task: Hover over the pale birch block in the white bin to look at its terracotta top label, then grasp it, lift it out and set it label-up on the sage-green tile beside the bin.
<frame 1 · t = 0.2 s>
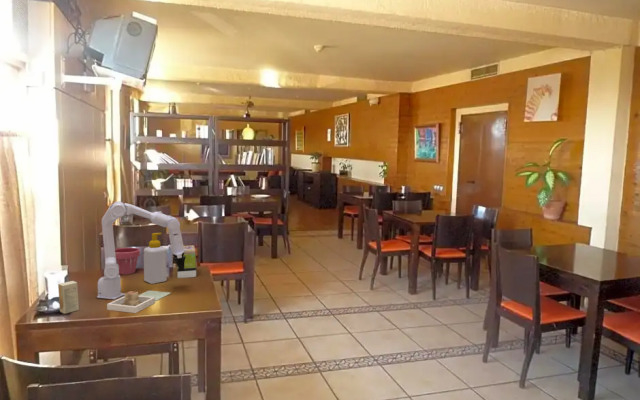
hand: (181, 268, 229), 10 cm above the table, tool pointing down, fingers open, 7 cm apart
tea box: (186, 274, 259), on the table
soap bottle: (155, 281, 244), on the table
plant pot: (126, 272, 260), on the table
birch block: (131, 306, 206), resting in white bin
skincare box: (69, 311, 198), on the table
sage tile: (152, 296, 220), on the table
white bin: (131, 306, 205), on the table
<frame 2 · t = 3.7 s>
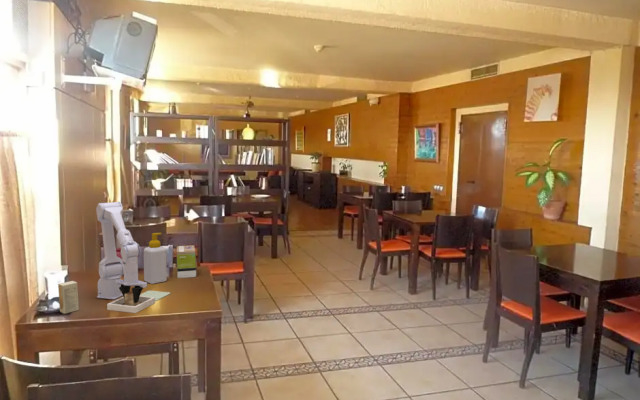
hand: (131, 302, 205), 2 cm above the table, tool pointing down, fingers closed on birch block, 4 cm apart
birch block: (131, 306, 205), resting in white bin, touching gripper
everything else where it was.
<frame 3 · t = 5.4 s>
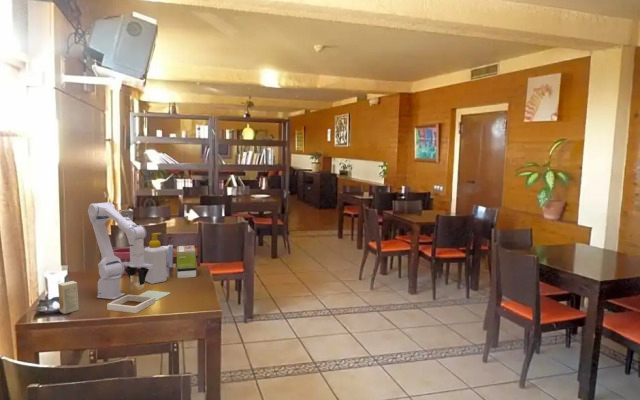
hand: (137, 283, 209), 9 cm above the table, tool pointing down, fingers closed on birch block, 4 cm apart
birch block: (137, 288, 209), point 7 cm above the table, touching gripper
everything else where it was.
when the fingers open (3 cm above the table, at t = 7.5 s): birch block stays where it is, resting on sage tile.
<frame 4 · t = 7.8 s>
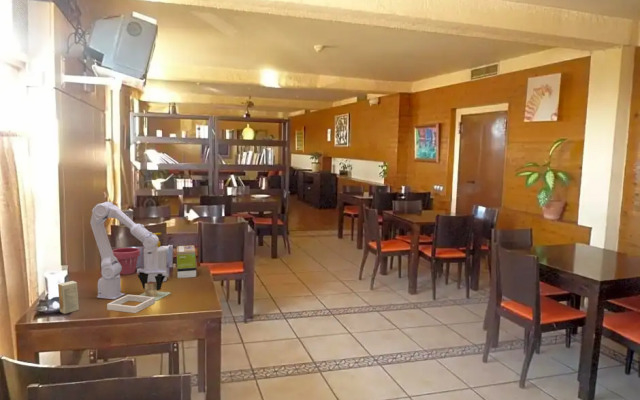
hand: (152, 289, 220), 3 cm above the table, tool pointing down, fingers open, 7 cm apart
birch block: (151, 295, 219), resting on sage tile
everything else where it was.
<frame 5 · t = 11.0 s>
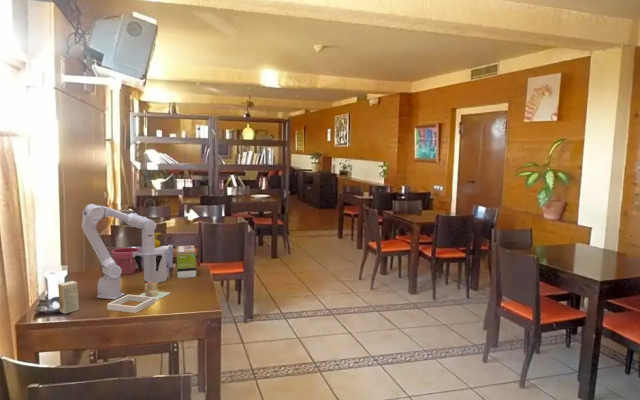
hand: (149, 271, 228), 9 cm above the table, tool pointing down, fingers open, 7 cm apart
nothing on the table moved.
at the end: birch block inside the target area on the sage tile (0.5 cm from its centre), point 0.4 cm above the sage tile's base; birch block tilted 0°; the gripper is holding nothing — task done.
